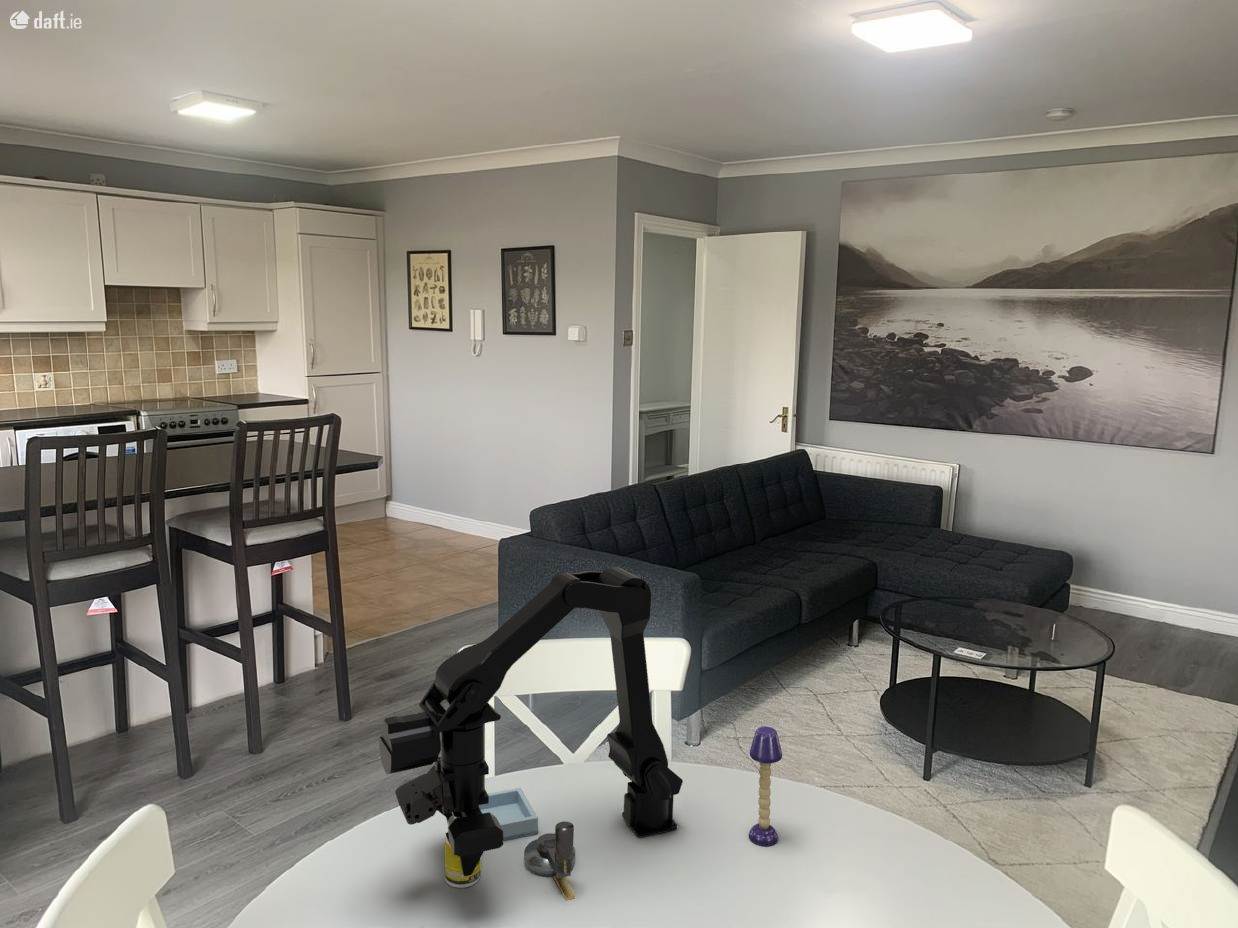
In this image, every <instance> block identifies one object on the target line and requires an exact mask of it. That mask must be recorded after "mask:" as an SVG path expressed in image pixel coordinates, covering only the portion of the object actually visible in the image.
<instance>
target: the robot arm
mask: <svg viewBox="0 0 1238 928" xmlns="http://www.w3.org/2000/svg"><path fill="white" fill-rule="evenodd" d="M652 594H653V591H652V589H651V586H650V585H649V583H648V582H647V581H645V580H644V579H642V578H641V577H638V576H637V575H635V574H633V573H631V572H629V571H628V570H625V569H623V568H621V567H618V566H612V567H609V568H607V569H604V570H603V571H594V570H591V571H590V570H585V571H580V572H573V573H572V572H560V573H557V574H556V575H554V576H553V577H552V578H551V580H550V583H549V584H547V585H546V586H545V587H544V588H543V589H542V590H541V591H539V593H536V595H535V596H534V597H532V598H531V600H529V601H528V602H527V603H526V604H525V605H524V606H522V607H521V608H520V609H519V610H518V611H517V612H516V613H515V614H514V615H512V616H511V617H510V618H508V620H506V622H504V624H502V625H501V626H499V628H497V629H496V631H494V632H493V633H492V634H491V635H490V636H489V637H487V638H485V639H484V640H483V641H481V642H478V643H475V644H472V645H470V646H467V647H464V648H463V649H461V650H460V651H458V652H457V653H455V654H453V655H452V656H450V657H448V658H446V660H444V661H443V662H442V663H441V664H440V665H439V666H438V667H437V669H436V671H435V678H434V681H433V683H432V684H431V685H430V687H429V689H428V690H427V692H426V693H425V694H424V696H423V697H422V699H421V700H420V702H419V703H418V707H419V708H420V710H421V712H417V713H411V714H406V715H403V716H402V715H401V716H399V715H398V716H394V715H393V716H390V717H386V718H384V720H383V722H384V723H383V724H384V725H383V727H382V728H381V730H380V731H381V732H380V736H379V737H378V746H379V755H380V760H381V765H382V768H383V770H384V772H385V774H386V775H392V774H396V773H400V772H404V771H409V770H414V769H418V768H422V767H427V766H431V765H433V764H434V765H433V766H432V767H431V768H430V769H429V770H428V771H427V772H426V773H423V774H421V775H419V776H417V777H415V778H413V779H412V780H409V781H407V782H405V783H403V784H402V785H399V786H398V787H397V788H396V789H395V796H396V799H397V802H398V805H399V808H400V810H401V813H402V814H403V816H404V818H405V821H406V823H407V824H408V825H409V826H410V825H411V826H412V825H415V824H420V823H423V822H424V821H427V820H428V819H430V818H432V817H434V816H435V814H436V812H439V814H441V815H442V816H444V817H445V820H446V823H447V824H448V820H449V818H450V817H451V816H453V817H454V819H455V820H454V821H453V822H452V823H451V824H450V825H449V827H448V826H447V832H448V833H447V832H445V836H447V839H448V841H449V844H450V845H451V848H452V851H453V853H454V855H456V856H459V857H460V862H461V867H462V872H463V875H464V876H469V875H472V873H473V871H474V869H475V868H476V866H477V864H478V862H479V860H480V858H481V859H482V856H483V854H484V852H488V851H493V850H497V849H501V847H503V845H504V841H503V830H502V828H501V826H500V824H499V822H498V820H497V818H496V817H495V816H494V815H492V814H491V813H490V812H488V813H482V812H481V810H480V808H479V805H483V804H488V803H489V796H488V792H487V790H486V787H485V786H486V784H485V783H486V778H485V777H486V776H487V775H490V771H489V770H490V769H489V765H488V763H487V760H486V756H485V755H486V746H485V745H486V724H487V723H492V722H497V721H500V720H501V718H502V715H500V713H499V712H498V711H497V710H496V709H495V708H494V707H493V706H492V705H491V704H490V703H489V702H490V700H491V699H492V698H493V697H494V696H495V694H497V692H498V691H499V689H500V688H501V687H502V685H503V682H504V681H505V677H506V675H507V673H508V671H509V670H510V669H511V667H512V666H513V665H514V664H515V663H516V662H518V661H519V660H520V659H521V658H522V657H523V656H524V655H526V654H527V653H528V652H529V651H530V650H531V649H532V648H533V647H534V646H535V645H536V644H537V643H538V642H539V641H541V640H542V639H543V638H544V637H545V636H546V635H548V633H550V632H551V631H552V630H553V629H554V628H555V627H557V625H558V624H560V623H561V622H562V620H564V619H565V618H566V617H568V616H569V615H570V613H572V612H573V611H574V610H575V609H590V610H596V611H598V612H599V613H600V614H599V615H601V618H602V619H603V622H604V623H605V625H606V628H607V629H608V632H609V635H610V643H611V645H610V646H611V653H612V654H611V655H612V662H613V672H614V680H615V692H616V699H617V706H618V707H617V709H618V717H619V722H618V725H617V727H616V730H615V732H610V733H607V736H606V738H607V739H606V740H607V742H608V745H609V752H608V758H609V759H610V760H611V761H612V762H613V763H614V764H615V766H616V767H618V768H619V770H621V772H622V774H623V775H624V777H627V778H628V779H629V780H630V781H628V782H627V789H626V790H627V793H624V795H623V811H622V812H621V814H622V815H621V816H622V817H623V820H624V821H625V823H626V824H627V825H628V826H629V828H631V830H632V832H633V833H634V834H635V835H636V837H638V838H642V837H647V836H652V835H657V834H662V833H667V832H670V831H675V830H677V829H678V824H677V823H676V821H675V820H674V819H673V818H674V797H675V796H676V795H678V794H680V791H681V788H682V786H683V782H684V781H683V778H681V777H680V776H678V774H677V773H675V772H674V771H673V770H671V769H670V768H669V760H668V757H667V756H668V755H667V754H666V750H665V745H664V742H663V741H662V739H661V736H660V735H659V733H658V731H657V729H656V727H655V726H654V722H653V715H652V705H651V695H650V685H649V675H648V665H647V653H646V647H645V644H646V643H645V636H644V635H645V629H646V627H647V626H648V623H649V621H650V618H651V616H652V614H651V613H652V601H653V600H652V597H653V595H652ZM443 701H445V702H446V703H447V705H449V706H448V707H447V709H445V708H444V706H443V705H442V704H441V703H442V702H443Z"/></svg>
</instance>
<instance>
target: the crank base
mask: <svg viewBox="0 0 1238 928" xmlns="http://www.w3.org/2000/svg"><path fill="white" fill-rule="evenodd" d="M537 839H538V838H536V839H535V840H532V841H531V842H529V843H528V844H527V845H526V846H525V848H524V852H523V854H524V855H523V864H524V868H526V870H527V871H528V872H529V873H531V874H533V875H536V876H538V877H545V878H551V877H552V878H554V881H555V882H556V885H557V887H558V888H559V890H560V891H561V894H562V895H563V897H564V899H565V901H569V900H573V899H576V895H575V893H574V891H573V889H572V888H571V886H570V884H569V882H568V880H567V879H566V877H562V878H557V876H556V874H555V872H554V870H553V868H552V866H551V864H550V862H549V860H548V858H547V856H543V855H541V854H539V853H538V852H537ZM575 863H576V848H575V847H574V845H573V867H574V866H575Z"/></svg>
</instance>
